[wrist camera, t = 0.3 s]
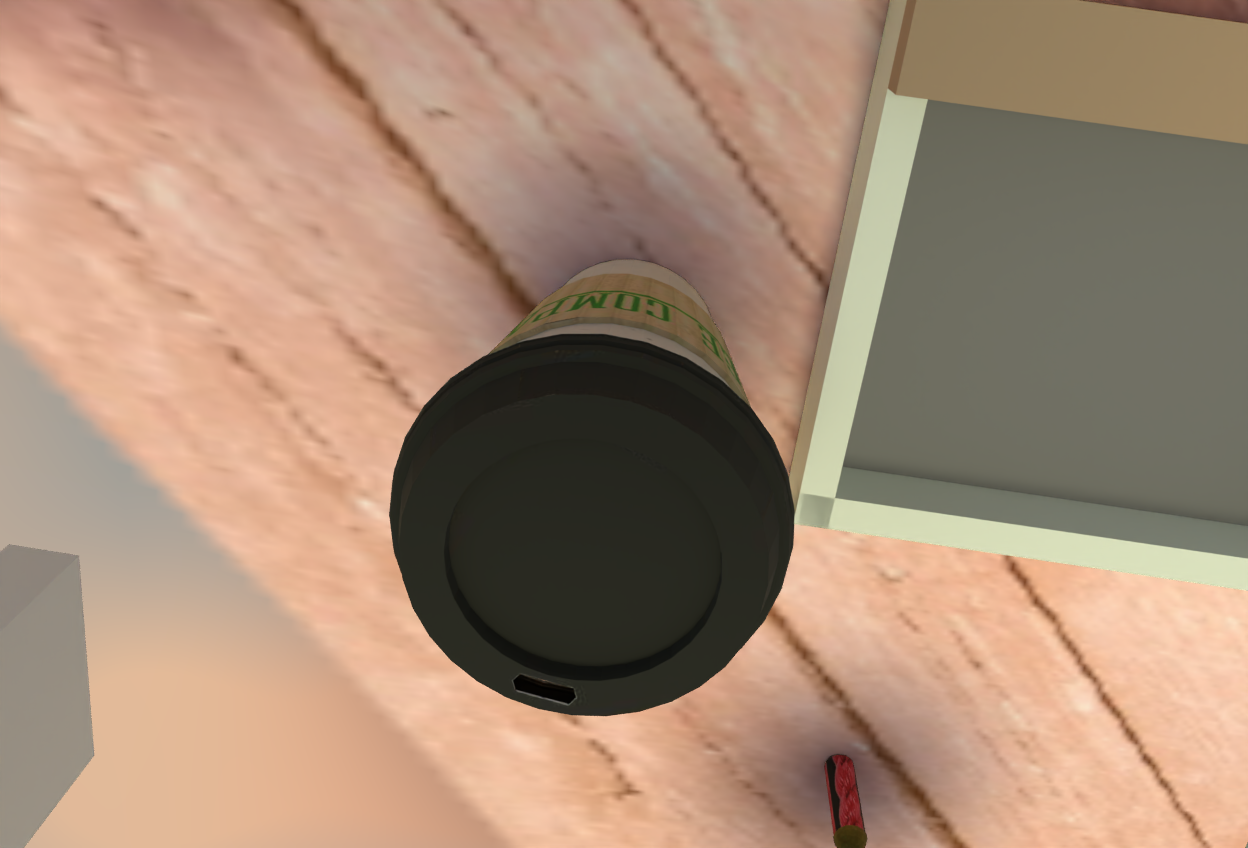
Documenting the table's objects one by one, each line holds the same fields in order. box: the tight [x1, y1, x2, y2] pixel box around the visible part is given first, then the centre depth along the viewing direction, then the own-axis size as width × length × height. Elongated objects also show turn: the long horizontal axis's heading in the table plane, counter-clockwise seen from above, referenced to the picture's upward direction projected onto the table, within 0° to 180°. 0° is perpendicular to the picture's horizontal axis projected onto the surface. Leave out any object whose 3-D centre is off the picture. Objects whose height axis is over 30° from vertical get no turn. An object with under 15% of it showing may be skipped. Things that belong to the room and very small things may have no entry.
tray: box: [789, 0, 1248, 591], centre depth 34 cm, size 18×19×4 cm
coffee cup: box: [389, 259, 795, 716], centre depth 32 cm, size 10×10×15 cm
